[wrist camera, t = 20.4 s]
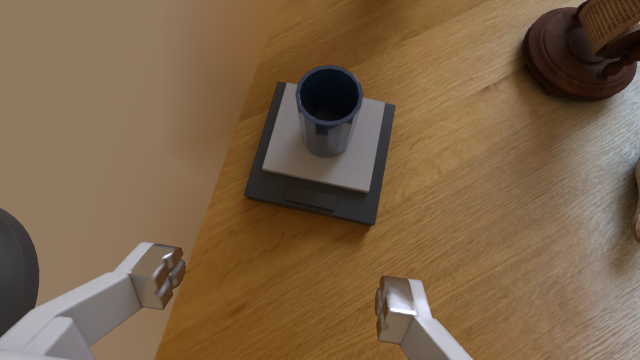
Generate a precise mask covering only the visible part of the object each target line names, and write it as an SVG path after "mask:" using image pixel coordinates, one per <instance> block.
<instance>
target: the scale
mask: <svg viewBox="0 0 640 360" xmlns="http://www.w3.org/2000/svg"><path fill="white" fill-rule="evenodd" d="M296 89H297V84H292V83H282V82H278V83H277V86H276V90H275V93H274V96H273V100H272V103H271V106H270V110H269V113H268V117H267V120H266V123H265V127H264V130H263V133H262V137H261V140H260V143H259V147H258V150H257V153H256V157H255V160H254V163H253V167H252V170H251V173H250V177H249V180H248V183H247V187H246V190H245V194H244V196H246V197H247V198H248V199H251V200H256V201H260V202H265V203H269V204H273V205H278V206H282V207H287V208H291V209H296V210H300V211H305V212H309V213H314V214H318V215H322V216H327V217H331V218H336V219H340V220H345V221H349V222H354V223H358V224H363V225H367V226H373V225H375V221H376V215H377V209H378V203H379V198H380V192H381V186H382V180H383V175H384V169H385V163H386V157H387V151H388V146H389V140H390V134H391V128H392V122H393V117H394V111H395V105H392V104H387V103H385V102H381V101H377V100H372V99H367V98H363V100H362V105H361V109H360V112H359V116H358V119H357V123H356V126H355V129H354V133H353V136H352V140H351V143H350V144H349V146H348V148H347V149H346V150H345V151H344V152H343V153H341V154H340V155H338V156H335V157H331V158H322V157H318V156H316V155H314V154H312V153H311V152H309V151H308V150H307V148H306V147H305V145H304V143H303V141H302V136H301V130H300V123H299V116H298V110H297V103H296V96H295V92H296Z"/></svg>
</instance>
